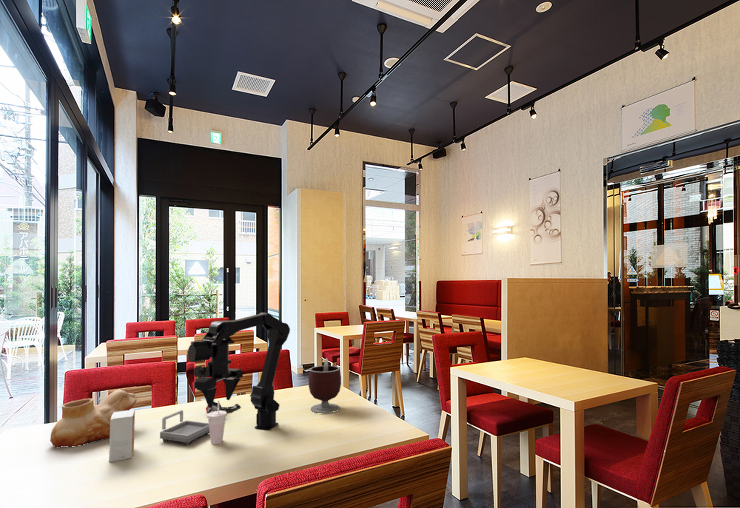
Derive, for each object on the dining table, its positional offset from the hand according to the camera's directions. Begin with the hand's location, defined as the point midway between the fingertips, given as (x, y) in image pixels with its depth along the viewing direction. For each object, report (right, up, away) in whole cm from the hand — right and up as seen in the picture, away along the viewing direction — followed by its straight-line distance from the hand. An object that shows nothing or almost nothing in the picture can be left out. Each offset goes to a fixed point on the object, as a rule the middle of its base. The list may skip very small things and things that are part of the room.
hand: (219, 403), depth 141 cm
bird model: (-11, -16, +32) cm, 38 cm away
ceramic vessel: (-47, -15, +7) cm, 50 cm away
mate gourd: (+33, -15, +34) cm, 50 cm away
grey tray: (-13, -14, +4) cm, 19 cm away
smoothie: (-1, -13, 0) cm, 13 cm away
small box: (-28, -13, -10) cm, 32 cm away
